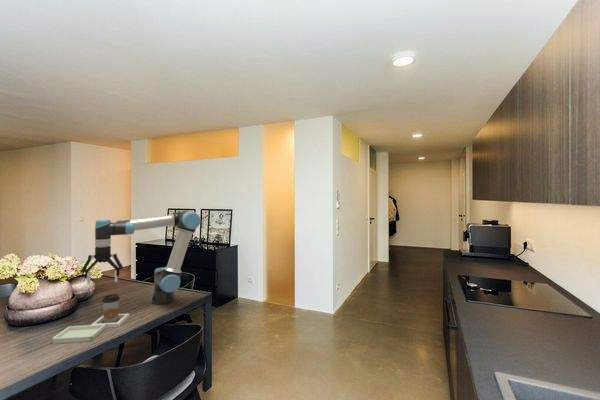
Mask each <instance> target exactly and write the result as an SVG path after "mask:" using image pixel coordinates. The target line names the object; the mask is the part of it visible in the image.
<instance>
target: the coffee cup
mask: <svg viewBox="0 0 600 400" xmlns="http://www.w3.org/2000/svg"><path fill="white" fill-rule="evenodd" d="M120 298H121V297H120V296H119V294H117V293H115V294H108V295H105V296H103V298H102V301H101V302H102V312H103V313H102V314H103V315H104V320H103V323H117V322H118V321H119V320H118V319H119V318H118V314H119V309H120V307H119V306H120ZM103 315H102V316H103Z"/></svg>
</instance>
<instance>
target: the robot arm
mask: <svg viewBox="0 0 600 400" xmlns="http://www.w3.org/2000/svg"><path fill="white" fill-rule="evenodd" d="M200 225H201V216H200V215H199V214H198V213H197V212H194V211H192V210H183V211H177V212H173V213H170V214H167V215H160V216H152V217H151V216H150V217H143V218H135V219H134V218H133V219H126V220H120V219H119V220H117V221H115V222H112V219H107V218H105V219H97V220H96V221H95V227H94V230H95V231H94V234H95V235H94V238H95V239H94V246H95V247H94V254H89V255H88V256H87V260H86V261H85V263H84V265H83V266H82V268H81V272H82V273H83V272H84V278H85V279H86V282H87V283H86V284H87V285H90V284H91V279H92V278H91V270H92V269H93V267H95V266H96V264H97V263H108V264H109V265H110V266H111V267H112V268H114V283H117V282H118V277H119V276H120V274H121V273H120V271H121V270H122V269H123V268H124V266H123V263H121V261H120V259H119V258H118V254H117V253H113V254H112V252H111V249H112V246H111V244H112V242H111V241H112V240H111V239H112V237H111V236H124V235H125V236H126V235H127V236H128V235H133V234H134V233H135V231H141V230H149V229H156V228H164V227H177V231H178V233H177V234H176V239H175V240H174V243H173V247H172V250H171V253H170V256H169V258H168V262H167V265H166V266H164V267H157V268H155V270H154V273H153V274H154V275H153V277H154V283H153V286H154V290H153V293H152V296H151V299H150V300H151V301H150V302H151V304H153V305H166V304H171V303H173V302H175V301H176V295H175V291H176V290H177V289H179V287H180V285H181V275H182V273H183V272H182V270H181V268H182V265H183V263H184V259H185V255H186V252H187V251H188V247H189V243H190V240H191V237H192V235H194V234H195V233H196V230H197V228H198V227H199V226H200ZM111 258H113V259H114V261H113V260H112V259H111ZM92 259H95V260H94V261H93V263H91V261H92ZM90 263H91V264H90ZM89 264H90V266H89ZM87 267H88V268H87Z"/></svg>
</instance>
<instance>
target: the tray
mask: <svg viewBox="0 0 600 400" xmlns="http://www.w3.org/2000/svg"><path fill="white" fill-rule="evenodd" d="M106 329H107V328H106V324H102V325H91V324H88V325H85V324H83V325H73V326H71V325H70V326H67V327H66V328H65V329H63V330H62V331H60V332H59V333H57V334H56V335H54V336H53V337H52V338H50V345H56V344H69V343H84V342H86V343H88V342H93V341H94V340H95V339H96V338H98V337H99V336H100V334H102V333H103V332H104V331H105V330H106Z"/></svg>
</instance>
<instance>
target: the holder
mask: <svg viewBox="0 0 600 400" xmlns="http://www.w3.org/2000/svg"><path fill="white" fill-rule="evenodd" d="M129 318H130V313H118V319H119V320H117V322H116V323H104V315H102V316H100V317H99V318H98V319H96V320H95V321H94V322H92V323H91V324H90V325H102V324H106V329H107V328H108V329H110V328H119V327H121V326H122V325H123V323H124V322H126V321H127V320H128V319H129Z"/></svg>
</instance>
